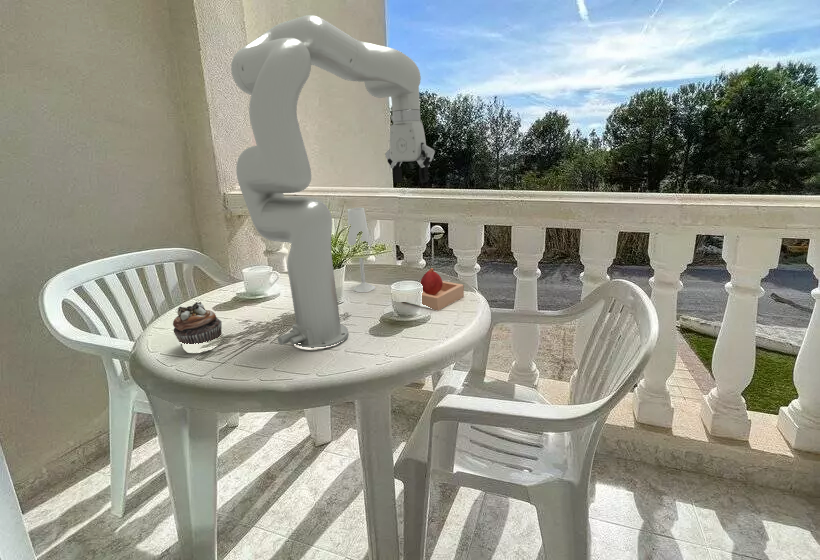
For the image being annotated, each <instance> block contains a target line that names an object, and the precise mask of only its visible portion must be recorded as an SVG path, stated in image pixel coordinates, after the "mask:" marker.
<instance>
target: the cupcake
mask: <svg viewBox="0 0 820 560" xmlns="http://www.w3.org/2000/svg"><path fill="white" fill-rule="evenodd" d="M172 321H173V322H172V326H173V327H174V328H173V334H174V335H175V337H176V339H177V340H178V343H179V342H182V343H184V344H185V343H186V344H188V343H189V344H194V343H195V344H196V343H198V344H199V343H203V342H206V341H207V342H208V341H209V340H210V341H211V340H213V339H215V338H218V337H219V336H220V335H221V334H222V329H223V326H222V325H223V324H222V323H223V322H222V320H221V319H219V318H218V317H217V315H216V313H215V312H214V311H213V310H208V309H206V308H205V306H204V304H202V302H201V301H200V302H199V301H196V302H195V303H194V304H192V305H190V306H189V305H188V306H187V307H185V306H179V307H178V308H177V316H175V318H174V320H172Z"/></svg>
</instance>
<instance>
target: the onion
mask: <svg viewBox="0 0 820 560" xmlns="http://www.w3.org/2000/svg"><path fill="white" fill-rule="evenodd" d="M442 281H443V280H442V277H441V276H440V274H438V273H437V272H436V271H435V269H434V268H433V267H431V268H430V269H428V271H426V272H425V273H424V274H423V276H422V278H421V279H420V282H421V284H422V285H423V291H424V292H425V293H426V294H429V295H434V296H435V295H436V294H437V293H438V292H439V291H440V290H441V288H442V284H443V282H442Z"/></svg>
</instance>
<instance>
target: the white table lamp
mask: <svg viewBox="0 0 820 560" xmlns="http://www.w3.org/2000/svg"><path fill="white" fill-rule="evenodd" d="M365 211H366V210H365V208H364V207H353V208H349V209H348V208H347V228H348V227H349V225H350V224H351V227H350V229H349V234H348V233H347V239H348V240H347V241H348V242H347V243H348V244H350V245H354V244H355V243H356V237H357V234H358V233H359V231H362V232H363V234H362V237H361V239H360V240H361V241H366V242H368V245H369V246H370V247H371V248H372V242H371V237H370V233H369V232H370V231H369V228H368V227H369V226H368V221H367V217H366V212H365ZM348 244H347V245H348ZM358 261H359V269H360V270H359V271H360V279H361V282H360V283H359V284H358V285H356V286H355V287H353V291H354V292H357V293H365V292H366V293H367V292H371V291H374V290H375V289H376V286H375V285H373V284H370V283H368V282H366V273H365V265H364V264H365V263H364V257H363V258H359V257H358Z"/></svg>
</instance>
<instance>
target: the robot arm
mask: <svg viewBox="0 0 820 560" xmlns="http://www.w3.org/2000/svg"><path fill="white" fill-rule="evenodd" d="M230 65H231V67H230V71H231V75H232V76H231V77H232V78H233V81H234V83H235V84H236V86H237V87H238V88H239V89H240V90H241V91H242V92H244V94H247V95H249V96H250V100H249V108H248V110H249V111H248V113H249V121H250V125H251V126H250V127H251V129H252V133H253V136H254V139H255V141H254V142H255V144H256V145H253V146H250V147H247V148H246V149H244V150H242V152H241V153H240V155H239V156H238V159H237V161H236V169H235V172H236V179H237V182H238V186H239V189H240V191H241V194H242V197H243V200H244V202H245V205H246V207H247V210H248V213H249V215H250V218H251V221H252V224H253V225H254V227H255V229H256V231H257V233H259V235H260V236H261V237H262V238H264V239H266V240H268V241H273V242H279V243H281V242H282V243H289V244H290V248H289V249H290V250H289V253H288V256H287V261H286V267H287V268H286V269H287V275H288V279H289V286H290V293H291V299H292V305H293V311H294V317H295V323H293V324H292V325H291V328H292V329H291V330H289V332H287V333H284V334H282V335H279V336H278V337H277V342H278V343H279V345H280V346H284V345H286V344H287V343H289V342H290V345H292V346H294V344H296V345H299V346H302V347H311V348H314V347H326V346H331V345H334V344H337V343H339V342H341V341H343V340H344V341H345V340H347V339H348V336H349V328H348V327H347V326H346V325H344V324H342V323H341V320H340V318H341V317H340V312H339V310H340V309H339V303H338V296H337V295H338V294H337V288H336V287H337V286H336V280H335V279H336V278H335V272H334V271H335V270H334V266H333V256H332V255H333V254H332V232H333V218H332V217H333V215H332V213H331V211H330V208H329V207H328V206H327V205H326V204H325V203H324V202H323V201H321V200H319V199H316V198H313V197H307V196H304V197H302V196H298V197H297V196H290V197H285V195H284V194H293V193H299V192H302V191H304V190H306V189H307V188H308V187H309V186H310V184H311V182H312V168H311V165H310V161H309V157H308V154H307V151H306V150H307V149H306V146H305V143H304V140H303V136H302V132H301V129H300V128H301V127H300V125H299V120H298V113H297V112H298V103H299V98H300V95H301V92H302V90H303V88H304V86H305V84H306V83H307V82H308V79H309V78H310V74H311V72H312V71H311V70H312V66H315V67H318V69H321V70H323V71H326V72H328V73H330V74H333V75H335V76H337V77H339V78H341V79H343V80H345V81H350V82H359V83H360V82H364V83H363V84H364V87H365V89H366V91H367V92H368V94H369V95H371V96H372V97H373V98H378V99H384V98H391V109H392V111H391V112H392V115H391V116H390V120H391V121H392V123H393V124H391V125H390V129H389V130H390V132H389V149H388V150H387V151H386V152H385V153H384V155H385V157H386V160H387V163H388V164H389V166H390V169H392V179H393V183H394V184H395V183H402V182H403V170H402V167H401V164H403V162H414V161H416V162H417V164H418V165H419V168H418V177H419V183H420V184H422V183H428V182H429V167H430V164H432V161H433V158H434V155H435V153H436V151H435V149H433V148H432V147H430V146H428V145H427V142H426V141H427V140H426V135H425V129H424V125H423V121H421V106H420V84H421V79H422V78H421V72H420V69H419V67H418V65H417V63H416V62H415V61H414V60H413V59H412V58H410V57H409V56H408V55H406V54H405V53H403V52H402V51H400V50H397V49H396V48H392V47H389V46H384V45H379V44H376V43H375V44H374V43H371V42H368V41H366V42H365V41H361V40H359V39H356V38H354V37H353V36H351V35H349V34H348V33H346V32H345V31H343V30H342V29H340V28H338V27H337V26H335V25H334V24H332V23H331V22H329V21H328V20H325V19H323V18H322V17H319V16H317V15H313V14H308V15H303V16H300V17H299V16H298V17H296V18H294V19H293V18H292V19H290V20H286V21H283V22H280V23H278V24H276V25H274V26H273V27H271V28H270V29H268V30H267V31H265V32H264V33H262V34H261V35H260V36H258V37H256V38H255V39H254V40H251V42H249V43H248V44H246V45H244V46H243V47H241V48H240V49H239V50H238V51H237V52H236V53H235V54H234V56H233V58H232V60H231V64H230ZM344 341H343V342H344ZM298 343H301V344H298Z"/></svg>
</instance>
